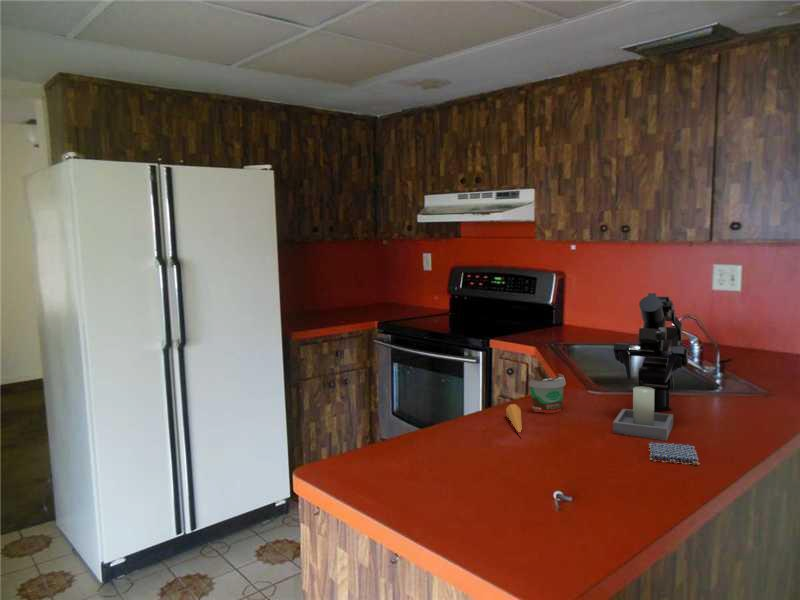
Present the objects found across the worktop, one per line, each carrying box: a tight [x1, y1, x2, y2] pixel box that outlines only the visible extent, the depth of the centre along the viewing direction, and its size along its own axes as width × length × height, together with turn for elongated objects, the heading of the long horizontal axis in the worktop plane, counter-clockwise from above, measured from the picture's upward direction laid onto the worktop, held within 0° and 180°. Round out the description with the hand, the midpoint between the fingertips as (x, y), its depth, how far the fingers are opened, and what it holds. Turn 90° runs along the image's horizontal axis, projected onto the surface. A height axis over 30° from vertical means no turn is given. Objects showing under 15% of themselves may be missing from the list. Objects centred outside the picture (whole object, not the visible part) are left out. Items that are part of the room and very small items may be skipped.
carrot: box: [505, 403, 523, 432], centre depth 163 cm, size 20×4×4 cm, turn 176°
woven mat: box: [647, 440, 701, 466], centre depth 139 cm, size 10×11×2 cm
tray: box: [612, 408, 674, 442], centre depth 157 cm, size 13×13×3 cm
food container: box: [528, 373, 567, 410], centre depth 175 cm, size 12×6×10 cm, turn 117°
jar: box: [632, 386, 655, 426], centre depth 156 cm, size 5×5×10 cm
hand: (646, 380), depth 159 cm, fingers open, 9 cm apart
